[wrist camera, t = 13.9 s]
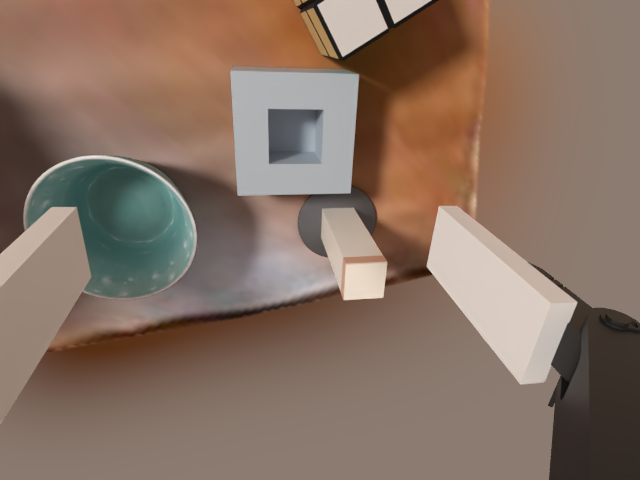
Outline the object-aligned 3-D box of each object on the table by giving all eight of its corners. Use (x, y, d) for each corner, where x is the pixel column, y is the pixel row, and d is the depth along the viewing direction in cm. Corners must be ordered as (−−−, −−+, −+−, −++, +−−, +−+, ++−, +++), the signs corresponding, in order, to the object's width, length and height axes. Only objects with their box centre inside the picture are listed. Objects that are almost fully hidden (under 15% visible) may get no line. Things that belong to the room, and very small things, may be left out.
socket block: (238, 177, 48) (237, 195, 42) (232, 66, 42) (230, 70, 37) (339, 176, 49) (350, 193, 44) (345, 69, 44) (359, 74, 39)
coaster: (297, 257, 54) (297, 259, 53) (298, 184, 49) (298, 186, 49) (371, 254, 55) (371, 255, 55) (378, 183, 51) (379, 184, 50)
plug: (320, 237, 52) (343, 300, 40) (322, 208, 51) (346, 264, 38) (351, 236, 53) (383, 297, 41) (353, 207, 51) (387, 262, 39)
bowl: (197, 270, 52) (188, 308, 45) (59, 254, 48) (26, 293, 41) (212, 151, 46) (205, 173, 39) (56, 121, 42) (16, 139, 35)
